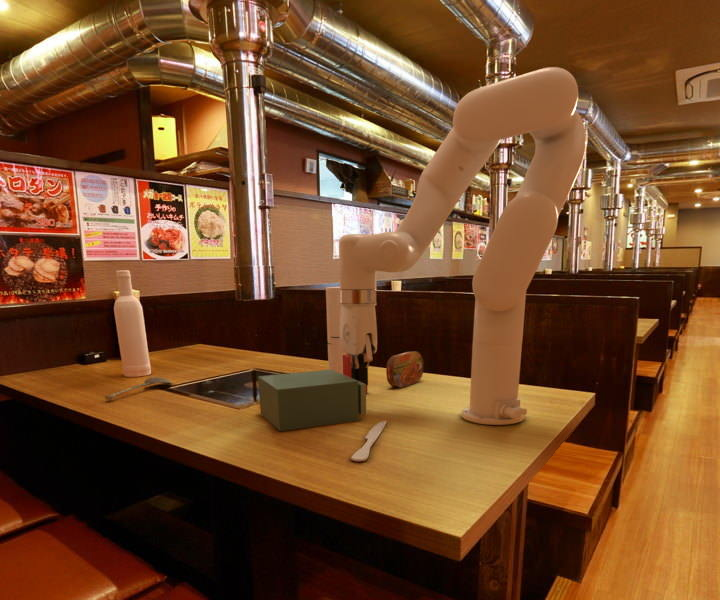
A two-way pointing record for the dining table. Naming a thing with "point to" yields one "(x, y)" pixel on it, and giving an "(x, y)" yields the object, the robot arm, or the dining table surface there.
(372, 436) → the butter knife
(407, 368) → the tin
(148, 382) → the soupspoon
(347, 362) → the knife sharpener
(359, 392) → the drawer
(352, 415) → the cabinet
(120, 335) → the bottle
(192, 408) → the dining table surface
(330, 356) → the cylindrical container
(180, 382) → the dining table surface
